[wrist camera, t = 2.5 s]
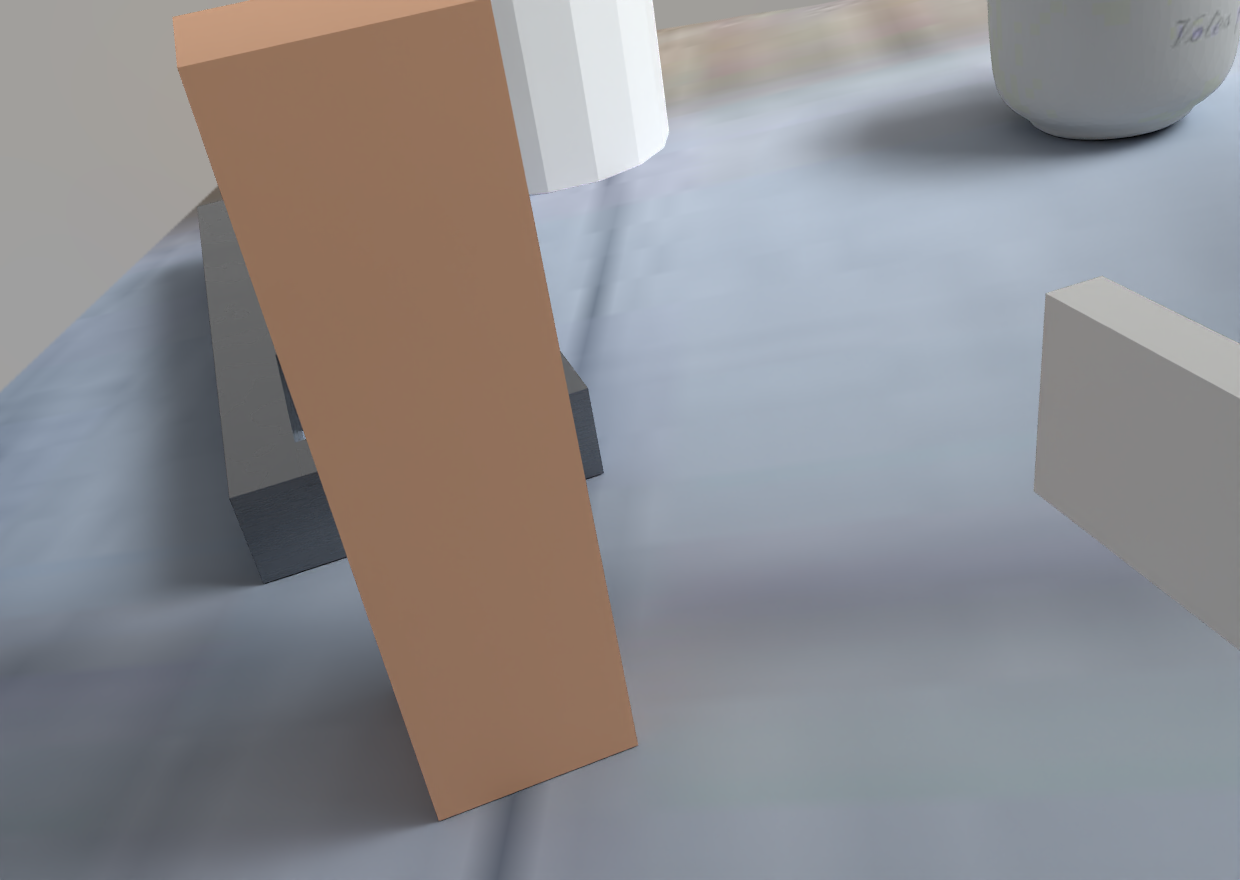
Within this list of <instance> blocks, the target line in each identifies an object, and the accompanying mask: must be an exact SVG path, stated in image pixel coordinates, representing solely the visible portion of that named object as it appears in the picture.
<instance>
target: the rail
mask: <svg viewBox="0 0 1240 880" xmlns="http://www.w3.org/2000/svg"><path fill="white" fill-rule="evenodd" d="M197 210H198V219H199V228H200V237H201V246H202V255H203V264H204V273H205V282H206V291H207V300H208V309H209V318H210V327H211V336H212V346H213V355H214V364H215V373H216V382H217V391H218V400H219V409H220V418H221V427H222V436H223V445H224V454H225V463H226V472H227V481H228V490H229V499H230V501H231V504H232V506H233V509H234V511H235V514H236V516H237V519H238V521H239V524H240V526H241V529H242V531H243V533H244V536H245V538H246V541H247V543H248V546H249V548H250V551H251V553H252V556H253V558H254V561H255V563H256V566H257V568H258V571H259V573H260V576H261V578H262V581H263V583H267V582H270V581H273V580H276V579H279V578H282V577H285V576H288V575H291V574H295V573H298V572H301V571H304V570H307V569H310V568H313V567H316V566H319V565H322V564H325V563H328V562H331V561H335V560H338V559H341V558H344V557H347V555H346V552H345V549H344V546H343V543H342V541H341V538H340V535H339V532H338V529H337V526H336V523H335V520H334V518H333V515H332V512H331V509H330V506H329V503H328V500H327V497H326V495H325V492H324V489H323V486H322V483H321V480H320V477H319V474H318V471H317V469H316V466H315V463H314V460H313V457H312V454H311V451H310V448H309V446H308V443H307V440H306V439H305V440H304V438H303V434H302V430H303V428H302V425H301V423H300V420H299V417H298V414H297V411H296V408H295V405H294V402H293V399H292V397H291V394H290V391H289V388H288V385H287V382H286V379H285V376H284V374H283V371H282V368H281V365H280V362H279V359H278V356H277V353H276V351H275V348H274V345H273V342H272V339H271V336H270V333H269V330H268V327H267V325H266V322H265V319H264V316H263V313H262V310H261V307H260V304H259V302H258V299H257V296H256V293H255V290H254V287H253V284H252V281H251V278H250V276H249V273H248V270H247V267H246V264H245V261H244V258H243V255H242V253H241V250H240V247H239V244H238V241H237V238H236V235H235V232H234V230H233V227H232V224H231V221H230V218H229V215H228V212H227V209H226V206H225V204H224V201H223V200H222V201H218V202H214V203H210V204H206V205H202V206H198V207H197ZM560 353H561V351H560ZM561 358H562V364H563V369H564V374H565V379H566V384H567V389H568V394H569V399H570V404H571V409H572V414H573V419H574V424H575V429H576V434H577V439H578V444H579V449H580V454H581V459H582V464H583V470H584V475H585V479H587V478H590V477H593V476H596V475H599V474H602V473H604V472H603V466H602V461H601V456H600V450H599V445H598V440H597V434H596V429H595V424H594V418H593V413H592V408H591V402H590V397H589V392H588V388H587V386H586V385H585V384H584V382H583V381H582V380H581V378H580V377H579V376H578V374H577V373H576V372H575V370H574V369H573V368H572V366H571V365H570V363H569V362H568V361H567V359H566V358H565V357H564V355H563V354H562V353H561Z"/></svg>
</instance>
